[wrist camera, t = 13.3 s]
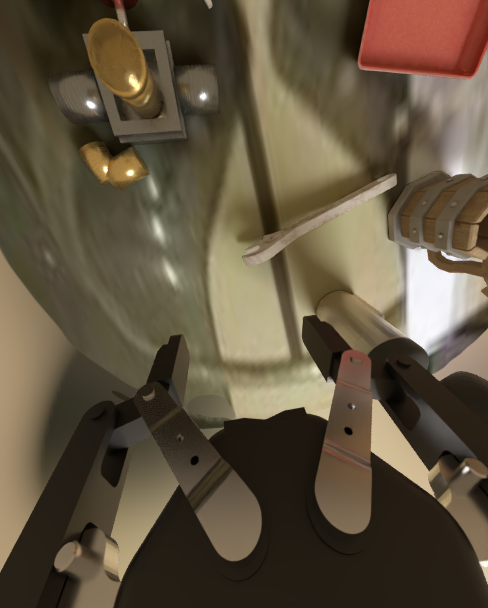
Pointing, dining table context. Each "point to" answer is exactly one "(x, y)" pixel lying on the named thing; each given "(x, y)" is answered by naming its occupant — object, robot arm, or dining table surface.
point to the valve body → (124, 121)
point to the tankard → (445, 221)
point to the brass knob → (123, 66)
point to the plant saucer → (425, 37)
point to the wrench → (314, 221)
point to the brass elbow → (114, 165)
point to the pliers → (208, 3)
